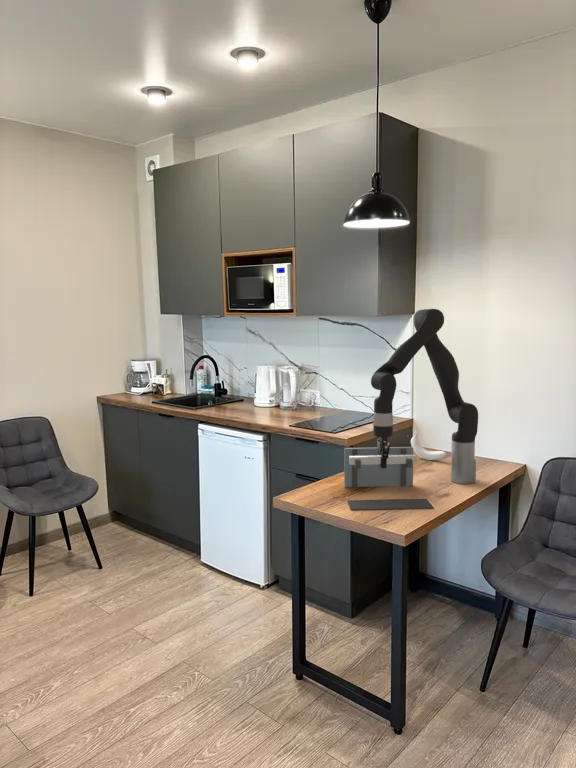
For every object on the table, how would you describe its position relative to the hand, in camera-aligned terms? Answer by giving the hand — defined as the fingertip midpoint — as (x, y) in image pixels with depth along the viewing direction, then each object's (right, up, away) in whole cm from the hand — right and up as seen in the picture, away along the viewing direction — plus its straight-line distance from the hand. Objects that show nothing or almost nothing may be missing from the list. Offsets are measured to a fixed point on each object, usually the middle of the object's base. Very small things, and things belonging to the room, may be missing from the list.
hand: (382, 466), depth 224 cm
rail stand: (0, -10, +5) cm, 11 cm away
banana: (+30, -4, +50) cm, 59 cm away
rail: (0, +1, 0) cm, 1 cm away
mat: (0, -12, -13) cm, 18 cm away
